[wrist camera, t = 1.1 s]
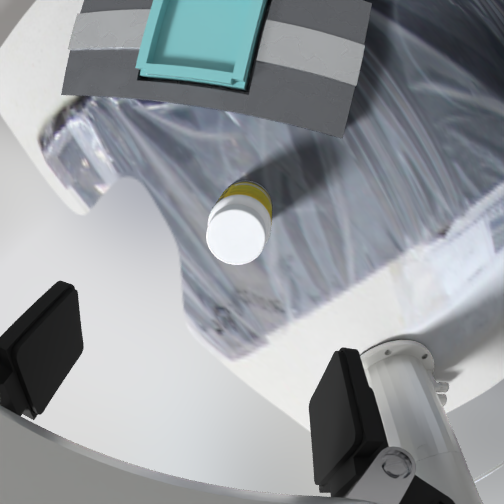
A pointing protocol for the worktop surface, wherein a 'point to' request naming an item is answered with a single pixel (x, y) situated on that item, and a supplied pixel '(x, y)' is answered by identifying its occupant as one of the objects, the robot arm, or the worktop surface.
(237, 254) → the supplement bottle
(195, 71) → the tray
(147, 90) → the block
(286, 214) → the worktop surface
